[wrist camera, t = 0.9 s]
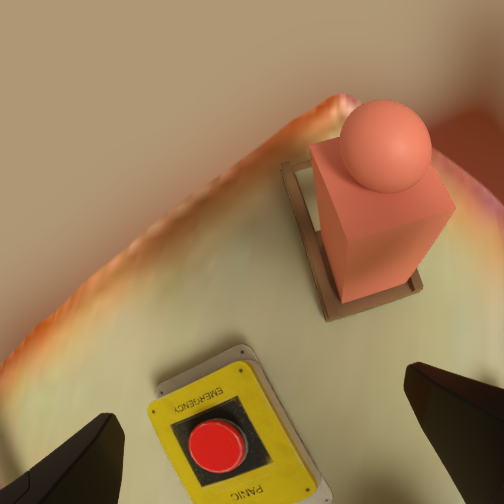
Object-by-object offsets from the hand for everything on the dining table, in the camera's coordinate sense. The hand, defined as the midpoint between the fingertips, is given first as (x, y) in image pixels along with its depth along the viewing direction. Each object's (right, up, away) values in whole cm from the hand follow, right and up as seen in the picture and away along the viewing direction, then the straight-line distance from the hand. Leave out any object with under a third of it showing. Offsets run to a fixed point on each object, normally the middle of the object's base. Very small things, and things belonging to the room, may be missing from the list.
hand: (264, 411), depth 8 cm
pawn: (+8, +4, +14) cm, 16 cm away
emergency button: (-1, -11, +13) cm, 17 cm away
